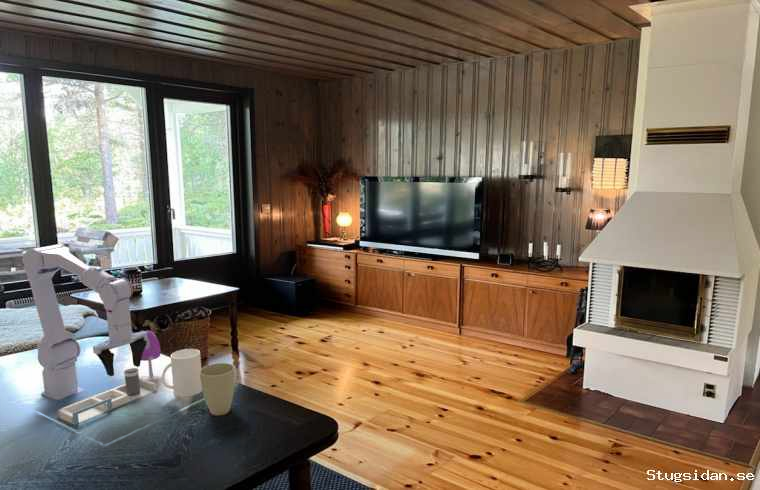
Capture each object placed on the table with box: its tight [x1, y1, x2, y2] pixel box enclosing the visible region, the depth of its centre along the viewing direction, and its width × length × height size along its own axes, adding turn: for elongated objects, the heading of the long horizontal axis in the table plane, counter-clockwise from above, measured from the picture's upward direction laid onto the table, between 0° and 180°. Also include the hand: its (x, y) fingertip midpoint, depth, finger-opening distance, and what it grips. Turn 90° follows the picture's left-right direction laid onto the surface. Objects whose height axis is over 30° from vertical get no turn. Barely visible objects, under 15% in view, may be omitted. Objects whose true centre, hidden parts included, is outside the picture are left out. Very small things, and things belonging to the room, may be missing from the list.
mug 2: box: [200, 362, 236, 416], centre depth 143 cm, size 11×10×12 cm
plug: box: [123, 367, 140, 396], centre depth 153 cm, size 4×4×7 cm
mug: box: [161, 348, 203, 398], centre depth 153 cm, size 12×8×12 cm
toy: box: [141, 330, 161, 376], centre depth 166 cm, size 7×7×15 cm
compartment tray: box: [56, 377, 158, 426], centre depth 147 cm, size 8×24×4 cm, turn 147°
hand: (124, 370), depth 147 cm, fingers open, 7 cm apart
